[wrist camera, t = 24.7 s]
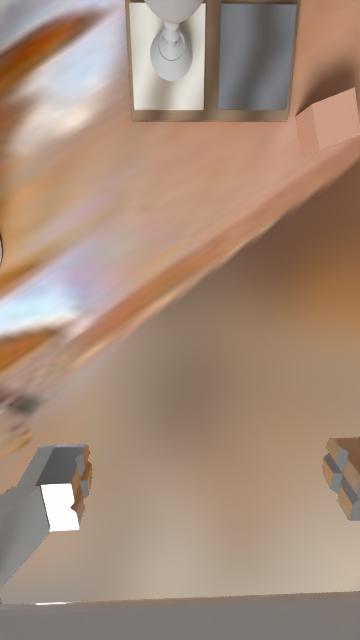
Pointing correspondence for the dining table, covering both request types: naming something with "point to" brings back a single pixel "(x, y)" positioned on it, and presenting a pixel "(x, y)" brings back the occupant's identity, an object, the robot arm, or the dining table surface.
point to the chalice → (172, 38)
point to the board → (217, 63)
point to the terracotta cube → (328, 122)
